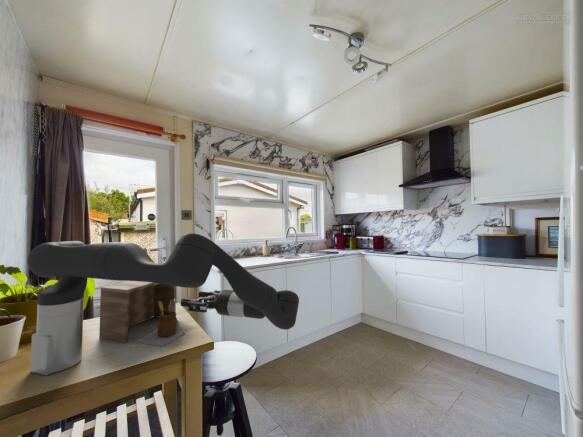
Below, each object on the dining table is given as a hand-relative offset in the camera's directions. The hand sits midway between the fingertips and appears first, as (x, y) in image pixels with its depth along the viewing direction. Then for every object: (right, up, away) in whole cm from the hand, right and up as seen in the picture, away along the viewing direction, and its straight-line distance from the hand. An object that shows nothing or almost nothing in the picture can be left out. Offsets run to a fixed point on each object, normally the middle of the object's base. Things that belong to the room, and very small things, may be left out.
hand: (190, 298), depth 80 cm
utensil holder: (-10, -14, +3) cm, 17 cm away
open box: (-22, -14, +10) cm, 28 cm away
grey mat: (-11, -14, +2) cm, 18 cm away
